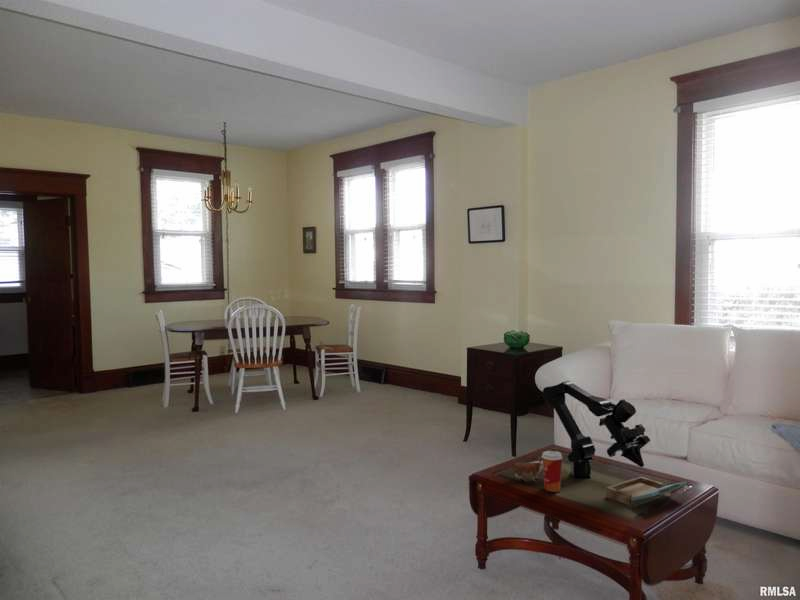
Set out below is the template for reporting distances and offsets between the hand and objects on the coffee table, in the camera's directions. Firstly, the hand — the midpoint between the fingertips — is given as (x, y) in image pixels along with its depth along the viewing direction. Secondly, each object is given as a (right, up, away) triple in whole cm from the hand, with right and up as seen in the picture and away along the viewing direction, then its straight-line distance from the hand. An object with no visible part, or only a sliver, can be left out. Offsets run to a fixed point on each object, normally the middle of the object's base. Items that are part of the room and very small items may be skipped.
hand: (642, 466), depth 219 cm
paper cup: (-30, -12, +10) cm, 34 cm away
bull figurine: (-36, -11, +21) cm, 43 cm away
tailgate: (+2, -9, -2) cm, 9 cm away
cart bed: (-1, -11, +3) cm, 12 cm away
